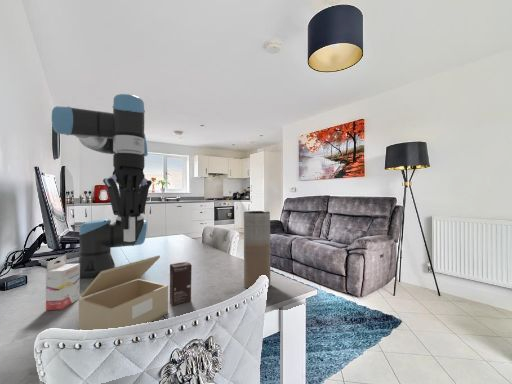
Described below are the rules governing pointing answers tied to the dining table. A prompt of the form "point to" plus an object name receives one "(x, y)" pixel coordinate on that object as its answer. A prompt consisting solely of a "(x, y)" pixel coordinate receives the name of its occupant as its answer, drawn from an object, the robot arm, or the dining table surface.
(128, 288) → the carton
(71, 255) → the desk tidy frame
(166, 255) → the dining table surface
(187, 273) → the box
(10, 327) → the dining table surface
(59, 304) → the ink cartridge box
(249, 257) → the burlap textured cylinder
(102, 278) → the lid
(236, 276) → the dining table surface
